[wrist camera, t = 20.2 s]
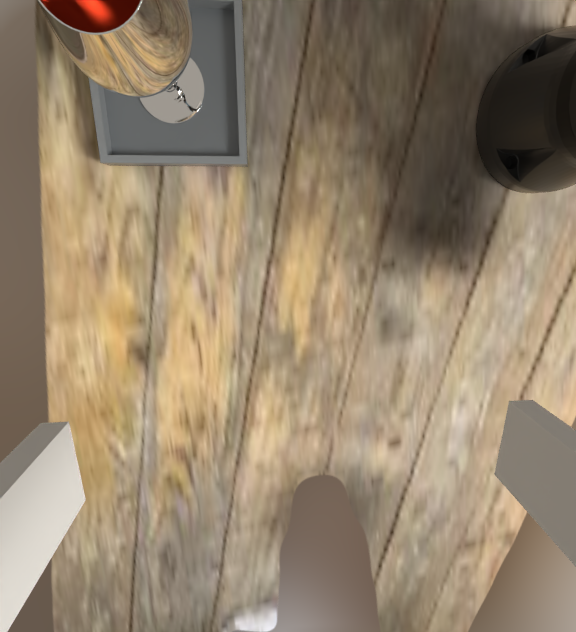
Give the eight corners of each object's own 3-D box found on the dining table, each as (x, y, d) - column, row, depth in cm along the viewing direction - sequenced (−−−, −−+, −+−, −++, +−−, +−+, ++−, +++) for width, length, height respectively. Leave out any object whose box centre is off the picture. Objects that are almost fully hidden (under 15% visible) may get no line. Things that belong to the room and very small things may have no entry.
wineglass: (121, 34, 32) (-30, -160, 15) (211, 37, 33) (164, -145, 16) (132, 133, 35) (12, 60, 18) (216, 134, 36) (180, 66, 18)
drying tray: (242, 5, 33) (241, -9, 31) (247, 166, 37) (246, 164, 35) (87, -2, 32) (75, -17, 30) (109, 165, 36) (100, 162, 34)
